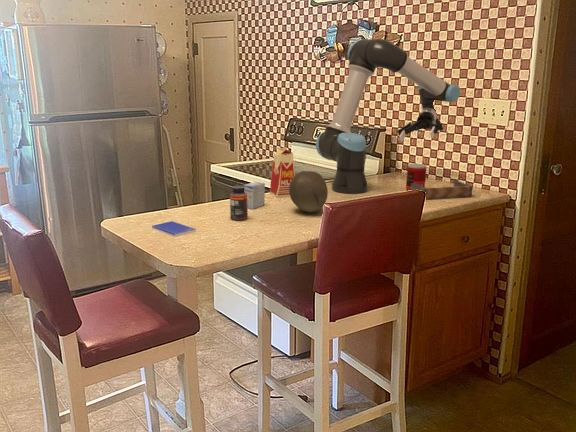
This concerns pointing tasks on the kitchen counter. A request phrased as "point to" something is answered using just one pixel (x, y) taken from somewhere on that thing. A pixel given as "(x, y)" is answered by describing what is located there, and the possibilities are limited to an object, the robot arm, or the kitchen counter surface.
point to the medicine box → (255, 194)
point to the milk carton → (282, 173)
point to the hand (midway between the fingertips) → (415, 137)
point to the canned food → (415, 175)
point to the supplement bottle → (238, 204)
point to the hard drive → (173, 228)
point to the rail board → (446, 191)
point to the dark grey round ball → (308, 191)
